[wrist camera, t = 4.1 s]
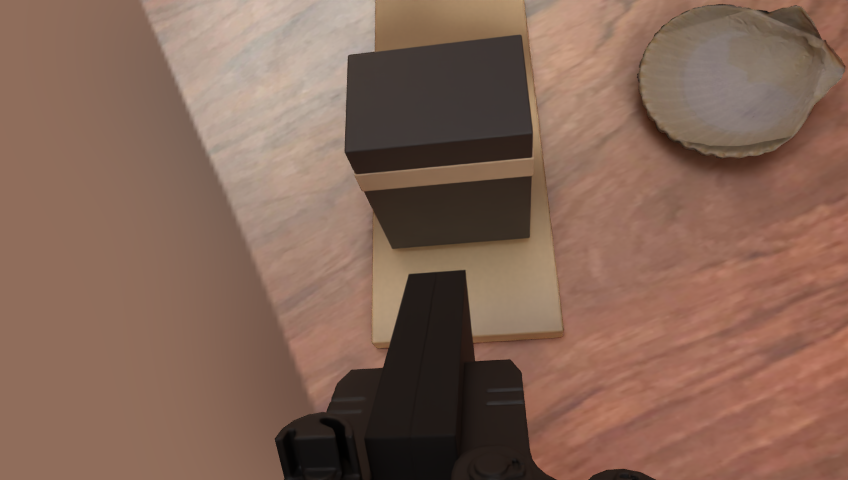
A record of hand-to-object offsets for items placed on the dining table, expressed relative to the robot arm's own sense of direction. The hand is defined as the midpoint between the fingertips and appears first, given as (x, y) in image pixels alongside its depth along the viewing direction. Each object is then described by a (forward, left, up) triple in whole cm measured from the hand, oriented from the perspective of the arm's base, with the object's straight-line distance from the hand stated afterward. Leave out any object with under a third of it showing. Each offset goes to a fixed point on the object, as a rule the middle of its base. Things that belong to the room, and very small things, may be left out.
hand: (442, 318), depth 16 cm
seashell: (+15, +11, -10) cm, 21 cm away
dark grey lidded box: (+1, +8, -9) cm, 12 cm away
